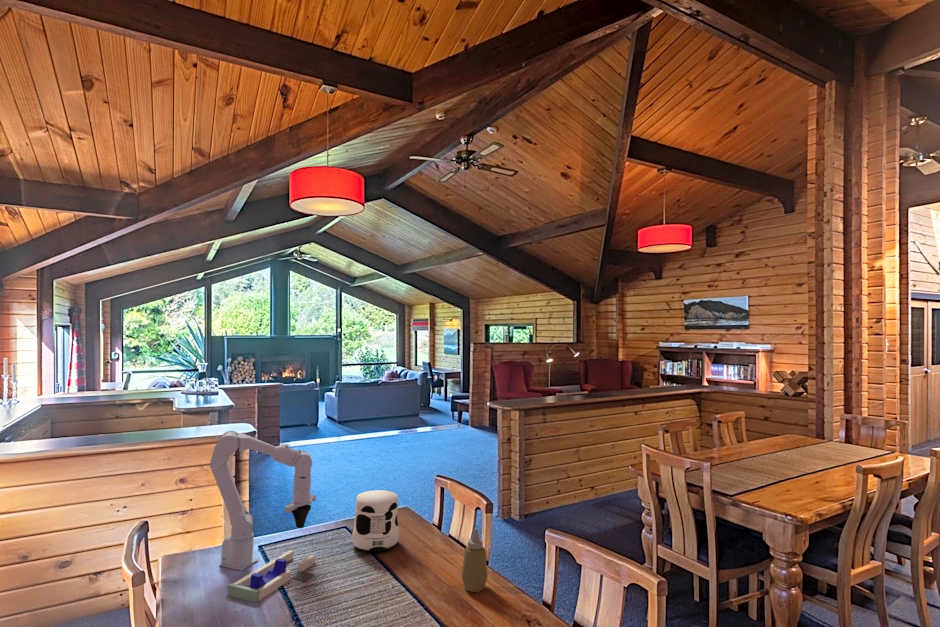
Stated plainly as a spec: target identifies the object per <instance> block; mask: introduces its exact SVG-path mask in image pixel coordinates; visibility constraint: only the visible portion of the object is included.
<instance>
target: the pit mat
mask: <svg viewBox="0 0 940 627" xmlns="http://www.w3.org/2000/svg"><path fill="white" fill-rule="evenodd" d="M314 576H315V573H311V572H308V571H301V572H300V571H299V572H298V573H297V574H296V575H293V576H292V577H291V579H290V580H295V581H298V582H299V581H300V582H304V583H305V582H307V581H308V580H309V579H311V578H312V577H314Z"/></svg>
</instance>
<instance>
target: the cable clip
mask: <svg viewBox="0 0 940 627" xmlns="http://www.w3.org/2000/svg"><path fill="white" fill-rule="evenodd" d="M277 558H278V557H277ZM275 559H276V558H275ZM285 571H287V562H286V560H285V559H280V558H278V559H276V560H275V565H274V567H273V568H272V569H270V570H269V571H268V572H267V574H266V575H265V576H264V577H263V574H258V573H253V574H252V575H251V584H250V585H249V586H250V587H249V588H254V589H259V588H260V587H262V586H264V585H265V584H267V583H268V582H270V581H271V580H273V579H274V578H276V577H278V576H279V575H281V574H282V573H284V572H285Z"/></svg>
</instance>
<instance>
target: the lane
mask: <svg viewBox="0 0 940 627" xmlns="http://www.w3.org/2000/svg"><path fill="white" fill-rule="evenodd" d="M278 558H280V559H285V560H286V563H288V562H290V561H291V560H293V559H294V550H287V551H286V552H285V553H283V554H281V555H279V556H278V557H276V558H274V559H273V560H271V561H269V562H267V563H266V564H263V565H262V566H261V567H260V568H257V569H255V570H254V571H252V572H250V573H249V574H247V575H245V576H244V577H242V578H241V579H238V580H237V581H235V582H234V583H232V582H231V583H229V584H228V585H227V595H226V596H228V597H232V598H237V599H239V600H244V601H248V602H252V603H258V602H259V601H261V600H263V599H264V598H265V597H267V596H268V595H269V594H271V593H272V592H274V591H275V590H277V589H279V588H280V587H281V586H283V585H284V584H286V583H287V582H289V581H290V580H292V579H291V578H292V577H293V574H292V573H293V571H292V570H291V569H286V571H285V572H284V573H282V574H281V575H279V576H278V577H276V578H274V579H273V580H271V581H270V582H268V583H267V584H265V585H264V586H262V587H260V588H259V589H254V588H250V587H249V586H250V584H251V575H252V574H253V573H258V574H263V578H264V577H265V575H266V574H267V572H268V571H269V570H270V569H272V568H273V567H274V565H275V560H276V559H278ZM315 563H316V555H315V554H310V555H309V556H307V557H305V558H304V559H302V560H301V561H299V562H298V563H297V571H298V572H299V573H300V572H301V571H303V572H305V570H306V569H308V568H310V567H311V566H313V565H315Z"/></svg>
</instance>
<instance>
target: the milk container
mask: <svg viewBox="0 0 940 627" xmlns="http://www.w3.org/2000/svg"><path fill="white" fill-rule="evenodd" d="M398 499H399V498H398V494H397V493H396V492H393V491H391V490H390V491H389V490H386V489H385V490H384V489H380V490H379V489H377V490H368V491H364V492H361V493H359V494H358V495H356V500H355V508H354V512H355V513H354V516H355V517H354V523H353V526H352V531H351V540H352V544H353V546H354V547H355V548H357V549H358V550H360V551H364V552H382V551H386V550H389V549H391V548H392V547H394V546H395V545H396V544H397V543H398V541H399V537H400V525H399V521H398V512H399V510H398V509H399V507H398V505H399V500H398Z"/></svg>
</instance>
